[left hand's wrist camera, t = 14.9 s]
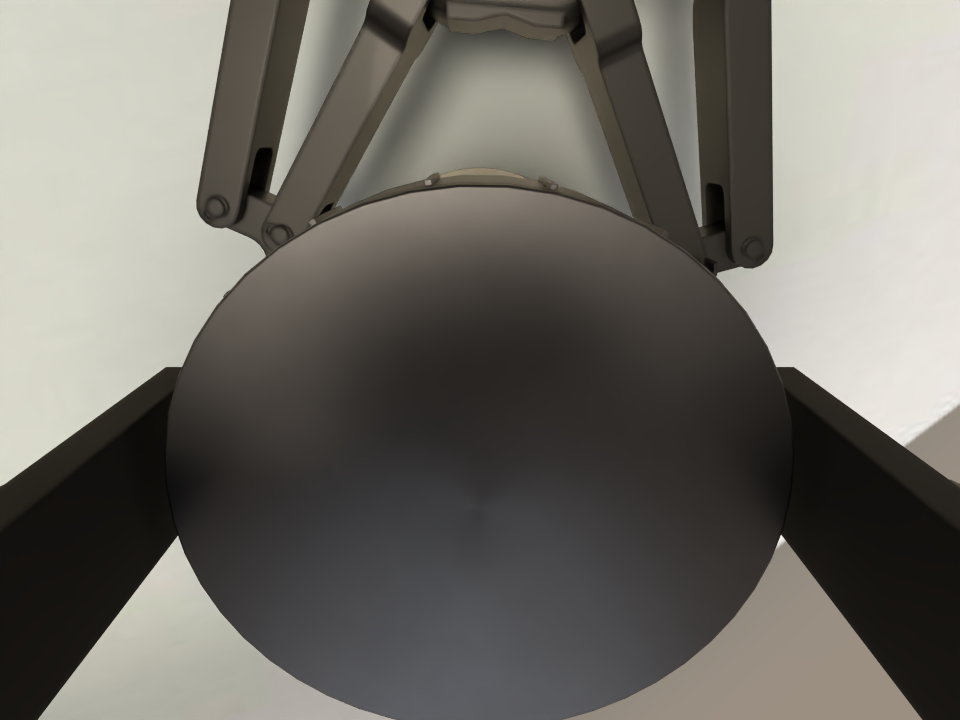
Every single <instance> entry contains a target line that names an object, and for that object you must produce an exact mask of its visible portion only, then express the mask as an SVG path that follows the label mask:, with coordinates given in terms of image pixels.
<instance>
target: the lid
mask: <svg viewBox="0 0 960 720" xmlns="http://www.w3.org/2000/svg"><path fill="white" fill-rule="evenodd" d="M308 222H309V224H310V225H311V227H309V228H308V229H306V230H304V231H303V232H301V233H299V234H298V235H296V236H294V237H293V238H291V239H289V240H288V241H286V242H284V243H283V244H281V245H279V246H278V247H277V248H276V249H275V250H273V251H272V252H271V253H270V254H269V255H267V256H266V257H265V258H264V259H262V260H261V261H260V262H259V263H258V264H256V265H255V266H254V267H253V268H252V269H250V270H249V271H248V272H247V273H246V274H245V275H244V276H243V277H242V278H241V279H240V280H239V281H238V282H237V283H236V285H235V286H234V287H233V288H232V289H231V290H230V291H228V292H226V294H225V295H224V296H223V297H224V298H223V299H222V300H221V301H220V302H219V304H218V305H217V306H216V307H215V309H214V310H213V312H212V314H211V315H210V317H209V318H208V320H207V321H206V323H205V324H204V326H203V327H202V329H201V330H200V332H199V334H198V335H197V337H196V338H195V340H194V342H193V344H192V346H191V348H190V351H189V353H188V355H187V357H186V360H185V362H184V364H183V366H182V369H181V371H180V373H179V375H178V378H177V382H176V386H175V390H174V393H173V397H172V401H171V405H170V408H169V412H168V420H167V429H166V439H165V448H164V456H165V476H166V489H167V494H168V499H169V504H170V509H171V514H172V519H173V522H174V525H175V528H176V531H177V534H178V536H179V539H180V542H181V545H182V548H183V550H184V553H185V555H186V557H187V559H188V561H189V563H190V565H191V567H192V569H193V571H194V572H195V574H196V576H197V578H198V580H199V582H200V584H201V585H202V587H203V588H204V590H205V591H206V593H207V594H208V595H209V597H210V598H211V600H212V601H213V602H214V604H215V605H216V607H217V608H218V610H219V611H220V612H221V613H222V615H223V616H224V617H225V618H226V619H227V620H228V621H229V622H230V623H231V624H232V626H233V627H234V628H235V629H236V630H237V631H238V632H239V633H240V634H241V635H242V637H243V638H244V639H246V640H247V641H248V642H249V643H250V644H251V645H253V646H254V647H255V648H256V649H257V650H258V651H259V652H261V653H262V654H263V655H264V656H265V657H266V658H268V659H269V660H270V661H271V662H273V663H274V664H276V665H277V666H279V667H280V668H282V669H283V670H285V671H286V672H287V673H289V674H290V675H292V676H293V677H295V678H296V679H298V680H299V681H301V682H303V683H305V684H307V685H309V686H311V687H312V688H314V689H316V690H318V691H320V692H322V693H324V694H325V695H327V696H330V697H332V698H334V699H337V700H339V701H342V702H344V703H346V704H349V705H351V706H354V707H356V708H358V709H362V710H365V711H368V712H372V713H375V714H378V715H381V716H385V717H388V718H391V719H396V720H563V719H566V718H570V717H573V716H577V715H580V714H584V713H587V712H591V711H594V710H597V709H600V708H602V707H605V706H607V705H610V704H612V703H615V702H617V701H620V700H622V699H625V698H627V697H629V696H631V695H633V694H635V693H637V692H639V691H641V690H642V689H644V688H646V687H648V686H650V685H652V684H654V683H656V682H657V681H659V680H661V679H662V678H664V677H665V676H667V675H668V674H670V673H671V672H673V671H674V670H676V669H677V668H679V667H680V666H682V665H683V664H685V663H686V662H687V661H688V660H690V659H691V658H692V657H693V656H694V655H696V654H697V653H698V652H699V651H700V650H702V649H703V648H704V647H705V646H706V645H708V644H709V643H710V642H711V641H712V640H713V639H714V638H715V637H716V636H717V635H718V634H719V633H720V632H721V630H722V629H723V628H724V627H725V626H726V625H727V624H728V623H729V622H730V621H731V620H732V619H733V618H734V617H735V615H736V614H737V613H738V611H739V610H740V609H741V607H742V606H743V604H744V603H745V602H746V600H747V599H748V598H749V596H750V595H751V594H752V592H753V591H754V589H755V588H756V586H757V584H758V582H759V581H760V579H761V577H762V575H763V573H764V572H765V570H766V568H767V566H768V564H769V563H770V561H771V559H772V556H773V554H774V551H775V548H776V546H777V543H778V541H779V538H780V535H781V533H782V530H783V528H784V524H785V519H786V515H787V511H788V506H789V502H790V498H791V493H792V481H793V467H794V447H793V435H792V422H791V416H790V412H789V408H788V404H787V400H786V395H785V391H784V387H783V383H782V380H781V378H780V376H779V373H778V371H777V368H776V366H775V364H774V361H773V359H772V356H771V354H770V351H769V349H768V347H767V345H766V343H765V342H764V340H763V338H762V337H761V335H760V333H759V332H758V330H757V329H756V327H755V325H754V324H753V322H752V320H751V319H750V317H749V316H748V314H747V312H746V311H745V310H744V309H743V307H742V306H741V305H740V304H739V303H738V301H737V300H736V299H735V298H734V297H733V296H732V294H731V293H730V292H729V291H728V290H727V289H726V287H725V286H724V285H723V284H722V283H721V281H720V280H719V279H718V278H717V277H715V276H714V275H713V274H712V273H711V272H710V271H709V270H707V269H706V268H705V267H704V266H703V265H702V264H701V263H699V262H698V261H697V260H696V259H695V258H694V257H692V256H691V255H690V254H689V253H688V252H687V251H686V250H684V249H683V248H681V247H679V246H678V245H676V244H675V243H673V242H672V241H670V240H669V239H667V236H668V235H669V233H668V232H666V231H665V230H663V229H661V228H659V227H657V226H655V225H653V224H651V223H649V222H647V221H645V220H643V219H640V218H638V217H636V216H634V218H631V217H629V216H627V215H625V214H623V213H622V212H620V211H618V210H616V209H614V208H612V207H610V206H607V205H605V204H603V203H601V202H599V201H596V200H594V199H592V198H590V197H588V196H585V195H583V194H581V193H579V192H576V191H573V190H569V189H566V188H562V187H559V186H558V185H557V184H555V183H554V182H552V181H550V180H549V179H547V178H545V177H541V176H539V180H538V181H537V180H530V179H524V178H517V177H510V176H504V175H458V176H450V177H442V178H440V175H439V173H434V174H432V175H431V176H429V177H428V178H427V179H425V180H421V181H418V182H414V183H410V184H407V185H403V186H399V187H395V188H392V189H388V190H385V191H383V192H381V193H378V194H376V195H374V196H371V197H369V198H367V199H364V200H362V201H359V202H357V203H355V204H352V205H350V206H348V207H347V208H345V209H342V208H341V206H338V207H336V208H334V209H332V210H330V211H328V212H326V213H324V214H321V215H319V216H317V217H315V218H313V219H311V220H310V221H308Z"/></svg>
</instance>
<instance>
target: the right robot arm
mask: <svg viewBox="0 0 960 720" xmlns="http://www.w3.org/2000/svg"><path fill="white" fill-rule="evenodd" d="M309 2H310V0H231V2H230V7H229V13H228V19H227V25H226V31H225V37H224V42H223V48H222V54H221V60H220V66H219V72H218V77H217V83H216V89H215V95H214V101H213V107H212V112H211V118H210V124H209V130H208V136H207V142H206V147H205V153H204V159H203V165H202V171H201V177H200V182H199V188H198V194H197V200H196V202H197V210H198V213H199V215H200V217H201V218H202V219H203V220H204V221H205V223H207V224H209V225H210V226H212V227H215V228H225V227H226V228H229V229H231V230H233V231H236V232H238V233H240V234H243V235H245V236H247V237H249V238H251V239H253V240H255V241H256V242H257V243H258V244H259V245H260V246H261V247H262V249H263V250H264V252H265V254H266V256H267V255H269V254H270V253H271V252H272V251H273V250H275V249H276V248H277V247H278V246H279V245H281V244H283V243H284V242H286V241H288V240H289V239H291V238H293V237H294V236H296V235H298V234H299V233H301V232H303V231H304V230H306V229H308V228H309V227H311V225H310V224H309V222H308V221H310V220H311V219H313V218H315V217H317V216H319V215H321V214H324V213H326V212H328V211H330V210H332V209H334V208H335V206H336V204H337V202H338V200H339V199H340V197H341V195H342V193H343V191H344V189H345V187H346V186H347V184H348V182H349V180H350V178H351V176H352V175H353V173H354V171H355V169H356V167H357V165H358V164H359V162H360V160H361V158H362V156H363V154H364V152H365V151H366V149H367V147H368V145H369V143H370V141H371V140H372V138H373V136H374V134H375V132H376V130H377V128H378V127H379V125H380V123H381V121H382V119H383V117H384V116H385V114H386V112H387V110H388V108H389V106H390V105H391V103H392V101H393V99H394V97H395V95H396V93H397V92H398V90H399V88H400V86H401V84H402V82H403V81H404V79H405V77H406V75H407V73H408V71H409V69H410V68H411V66H412V64H413V62H414V61H415V59H416V58H417V57H418V56H419V55H420V53H421V52H422V50H423V49H424V47H425V45H426V43H427V41H428V40H429V38H430V36H431V34H432V32H433V30H434V29H435V27H436V25H437V23H440V24H442V25H444V26H446V27H449V31H450V32H458V33H470V34H478V33H482V32H487V31H492V30H496V29H506V30H508V31H511V32H513V33H516V34H518V35H521V36H523V37H526V38H528V39H540V40H551V41H554V40H555V39H556V38H557V37H558V36H562V35H565V34H566V35H567V38H568V40H569V43H570V46H571V49H572V52H573V55H574V58H575V60H576V63H577V65H578V67H579V69H580V70H581V72H582V73H583V75H584V77H585V80H586V83H587V86H588V88H589V91H590V94H591V97H592V100H593V103H594V106H595V109H596V111H597V114H598V117H599V120H600V123H601V126H602V129H603V132H604V134H605V137H606V140H607V143H608V146H609V149H610V152H611V155H612V157H613V160H614V163H615V166H616V169H617V172H618V175H619V178H620V180H621V183H622V186H623V189H624V192H625V195H626V198H627V201H628V203H629V206H630V209H631V212H632V215H633V218H634V216H636V217H638V218H640V219H643V220H645V221H647V222H649V223H651V224H653V225H655V226H657V227H659V228H661V229H663V230H665V231H666V232H668V233H669V235H668V236H667V239H669V240H670V241H672V242H673V243H675V244H676V245H678V246H679V247H681V248H683V249H684V250H686V251H687V252H688V253H689V254H690V255H691V256H692V257H694V258H695V259H696V260H697V261H698V262H699V263H701V264H702V265H703V266H704V267H705V268H706V269H707V270H709V271H710V272H711V273H712V274H713V275H714V276H715V277H716V276H717V273H718V272H722V271H725V270H729V269H733V268H737V267H740V266H741V267H744V268H755V267H758V266H761V265H762V264H763V263H764V262H765V261H767V260H768V258H769V256H770V255H771V253H772V248H773V158H772V31H771V0H694V3H693V40H694V61H695V81H696V101H697V122H698V142H699V163H700V183H701V204H702V224H703V226H702V227H698V224H697V221H696V218H695V215H694V211H693V208H692V205H691V202H690V199H689V195H688V192H687V189H686V186H685V183H684V179H683V176H682V173H681V170H680V167H679V163H678V160H677V157H676V154H675V151H674V147H673V144H672V141H671V138H670V135H669V131H668V128H667V125H666V122H665V119H664V115H663V112H662V109H661V106H660V103H659V99H658V96H657V93H656V90H655V86H654V83H653V80H652V77H651V74H650V70H649V67H648V64H647V61H646V58H645V54H644V51H643V47H642V28H641V23H640V19H639V16H638V13H637V9H636V6H635V3H634V0H370V2H369V5H368V8H367V12H366V17H365V21H364V23H363V26H362V28H361V30H360V32H359V34H358V36H357V38H356V40H355V42H354V44H353V46H352V48H351V50H350V52H349V54H348V56H347V58H346V60H345V61H344V63H343V65H342V67H341V69H340V71H339V73H338V75H337V77H336V79H335V81H334V83H333V85H332V87H331V89H330V91H329V93H328V95H327V97H326V99H325V101H324V103H323V105H322V107H321V109H320V111H319V113H318V115H317V117H316V119H315V121H314V123H313V125H312V127H311V129H310V131H309V133H308V135H307V137H306V139H305V141H304V143H303V145H302V147H301V149H300V151H299V152H298V154H297V156H296V158H295V160H294V162H293V164H292V166H291V168H290V170H289V172H288V174H287V176H286V178H285V180H284V182H283V184H282V186H281V188H280V190H279V192H278V194H277V196H276V195H274V194H272V193H269V190H270V185H271V181H272V176H273V171H274V167H275V162H276V157H277V152H278V148H279V143H280V138H281V134H282V129H283V124H284V119H285V115H286V110H287V105H288V101H289V96H290V91H291V86H292V82H293V77H294V72H295V68H296V63H297V58H298V54H299V49H300V44H301V39H302V35H303V30H304V25H305V21H306V16H307V11H308V6H309Z"/></svg>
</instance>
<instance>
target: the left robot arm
mask: <svg viewBox="0 0 960 720" xmlns="http://www.w3.org/2000/svg"><path fill="white" fill-rule="evenodd" d="M776 368H777V371H778V373H779V376H780V378H781V380H782V383H783V387H784V391H785V395H786V400H787V404H788V408H789V412H790V416H791V422H792V435H793V447H794V467H793V481H792V493H791V498H790V502H789V506H788V511H787V515H786V519H785V524H784V528H783V530H782V533H781V535H782V536H783V537H784V539H785V540H786V541H787V543H788V544H789V545H790V546H791V548H792V549H793V550H794V552H795V553H796V554H797V556H798V557H799V558H800V560H801V561H802V562H803V564H804V565H805V566H806V568H807V569H808V570H809V571H810V573H811V574H812V575H813V577H814V578H815V579H816V581H817V582H818V583H819V584H820V586H821V587H822V588H823V590H824V591H825V592H826V594H827V595H828V596H829V598H830V599H831V600H832V602H833V603H834V604H835V606H836V607H837V608H838V609H839V611H840V612H841V613H842V615H843V616H844V617H845V619H846V620H847V621H848V623H849V624H850V625H851V627H852V628H853V629H854V630H855V632H856V633H857V634H858V636H859V637H860V638H861V640H862V641H863V642H864V644H865V645H866V646H867V648H868V649H869V650H870V651H871V653H872V654H873V655H874V657H875V658H876V659H877V661H878V662H879V663H880V665H881V666H882V667H883V669H884V670H885V671H886V672H887V674H888V675H889V676H890V678H891V679H892V680H893V681H894V683H895V684H896V686H897V687H898V688H899V689H900V691H901V692H902V693H903V695H904V696H905V697H906V699H907V700H908V701H909V703H910V704H911V705H912V707H913V708H914V709H915V710H916V712H917V713H918V714H919V716H920V717H921V718H922V720H960V484H959V483H957V482H954V481H952V480H949V479H947V478H946V477H944V476H943V475H942V474H940V473H939V472H937V471H936V470H935V469H933V468H932V467H931V466H929V465H928V464H926V463H925V462H924V461H922V460H921V459H920V458H918V457H917V456H916V455H914V454H913V453H911V452H910V451H909V450H907V449H906V448H904V447H903V446H902V445H900V444H899V443H898V442H896V441H895V440H893V439H892V438H891V437H889V436H888V435H887V434H885V433H884V432H882V431H881V430H880V429H878V428H877V427H876V426H874V425H873V424H871V423H870V422H869V421H867V420H866V419H865V418H863V417H862V416H860V415H859V414H858V413H856V412H855V411H854V410H852V409H851V408H849V407H848V406H847V405H845V404H844V403H843V402H841V401H840V400H838V399H837V398H836V397H834V396H833V395H831V394H830V393H829V392H827V391H826V390H825V389H823V388H822V387H820V386H819V385H818V384H816V383H815V382H814V381H812V380H811V379H809V378H808V377H807V376H805V375H804V374H803V373H801V372H800V371H798V370H797V369H796V368H794V367H776ZM181 369H182V367H166V368H164V369H163V370H162V371H160V372H159V373H157V374H156V375H155V376H153V377H152V378H151V379H149V380H148V381H146V382H145V383H144V384H142V385H141V386H140V387H138V388H137V389H135V390H134V391H133V392H131V393H130V394H129V395H127V396H126V397H124V398H123V399H122V400H120V401H119V402H117V403H116V404H115V405H113V406H112V407H111V408H109V409H108V410H106V411H105V412H104V413H102V414H101V415H100V416H98V417H97V418H95V419H94V420H93V421H91V422H90V423H89V424H87V425H86V426H84V427H83V428H82V429H80V430H79V431H78V432H76V433H75V434H73V435H72V436H71V437H69V438H68V439H67V440H65V441H64V442H62V443H61V444H60V445H58V446H57V447H56V448H54V449H53V450H51V451H50V452H49V453H47V454H46V455H44V456H43V457H42V458H40V459H39V460H38V461H36V462H35V463H33V464H32V465H31V466H29V467H28V468H27V469H25V470H24V471H22V472H21V473H20V474H18V475H17V476H16V477H14V478H13V479H11V480H10V481H9V482H7V483H6V484H4V485H2V486H0V720H38V718H39V717H40V716H41V714H42V713H43V712H44V710H45V709H46V708H47V707H48V705H49V704H50V703H51V701H52V700H53V699H54V697H55V696H56V695H57V693H58V692H59V691H60V689H61V688H62V687H63V686H64V684H65V683H66V682H67V680H68V679H69V678H70V676H71V675H72V674H73V672H74V671H75V670H76V669H77V667H78V666H79V665H80V663H81V662H82V661H83V659H84V658H85V657H86V655H87V654H88V653H89V651H90V650H91V649H92V648H93V646H94V645H95V644H96V642H97V641H98V640H99V638H100V637H101V636H102V634H103V633H104V632H105V630H106V629H107V628H108V627H109V625H110V624H111V623H112V621H113V620H114V619H115V617H116V616H117V615H118V613H119V612H120V611H121V609H122V608H123V607H124V606H125V604H126V603H127V602H128V600H129V599H130V598H131V596H132V595H133V594H134V592H135V591H136V590H137V589H138V587H139V586H140V585H141V583H142V582H143V581H144V579H145V578H146V577H147V575H148V574H149V573H150V571H151V570H152V569H153V568H154V566H155V565H156V564H157V562H158V561H159V560H160V558H161V557H162V556H163V554H164V553H165V552H166V550H167V549H168V548H169V547H170V545H171V544H172V543H173V541H174V540H175V539H176V537H177V536H178V534H177V531H176V528H175V525H174V522H173V519H172V514H171V509H170V504H169V499H168V494H167V489H166V476H165V456H164V448H165V439H166V429H167V420H168V412H169V408H170V405H171V401H172V397H173V393H174V390H175V386H176V382H177V378H178V375H179V373H180V371H181Z"/></svg>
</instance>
